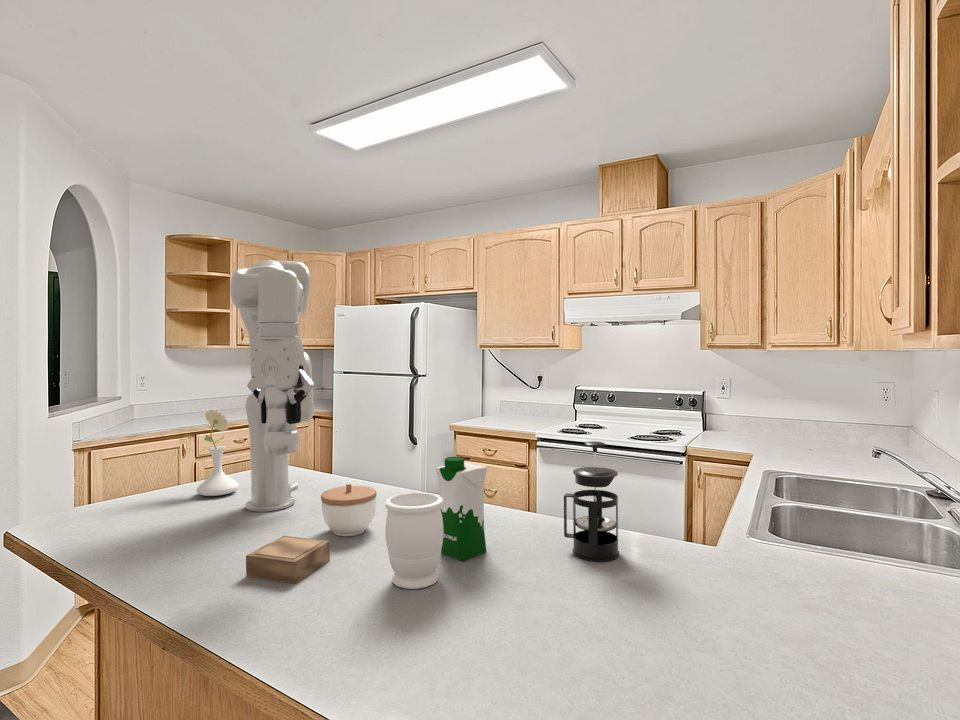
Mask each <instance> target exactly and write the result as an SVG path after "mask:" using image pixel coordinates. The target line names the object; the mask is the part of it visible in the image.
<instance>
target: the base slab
mask: <svg viewBox="0 0 960 720" xmlns="http://www.w3.org/2000/svg"><path fill="white" fill-rule="evenodd" d="M330 542H331V541H330V540H325V539H315V538H306V537H299V536H298V537H297V536H289V535H283V536H280V537H279V538H276V539H275V540H272V541H271V542H269V543H267V544H266V545H263V546H261V547H259V548H258V549H256V550H253V551H252V552H250V553H248V554H245V575H246V577H248V578H255V579H262V580H268V581H277V582H280V583H281V582H282V583H289V584H298V583H299V582H301V580H303V579H304V578H306V577H307V576H309V575H310V574H312V573H314V572H315V571H317V570H319V569H320V568H321V567H322V566H324V565H326V564H327V563H328V562H331V553H330V551H331V549H330V547H331V546H330V544H331V543H330Z"/></svg>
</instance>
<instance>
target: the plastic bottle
mask: <svg viewBox="0 0 960 720" xmlns="http://www.w3.org/2000/svg"><path fill="white" fill-rule="evenodd" d="M264 386H265V388H264V390H263V391H264V396H265V403H266V432H265V435H264V447H265V450H266V451H267V453H269V454H275V455H286V454H288V455H289V454H291V453H295V452H297V450H298V448H299V446H300V445H299V444H300V436H299V432H298V429H297V423H295V424H289V423H288V404H291V403H290V400H289V397H288V394H287V389H284V390H280V389H278V388H276V386H277V381H276V380H275V378H274V376H273V377H272V375H269V376H267V377H266V378H265V380H264ZM293 387H296V386H293ZM294 393H295V391H294Z"/></svg>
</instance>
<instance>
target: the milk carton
mask: <svg viewBox="0 0 960 720" xmlns="http://www.w3.org/2000/svg"><path fill="white" fill-rule="evenodd" d="M487 469H488V466H487V465H481V464H475V463H470V462H465V458H464V457H462V456H449V457H445V458H444V465H441V466H437V467H435V471H436V477H437V480H438V486H439V496H441V497H442V498H443V504H442V506H441V507H440V510H441V514H442V519H443V530H444V532H443V544H442V549H441V555H444V556H448V557H449V558H451V559H455V560H458V561H461V562H464V561H467V560H470V559H472V558H474V557H476V556H479V555H481V554H483V553H486V552H487V543H486V534H485V513H484V512H485V509H484V508H485V507H484V506H485V505H484V504H485V503H484V502H485V500H484V494H485V493H484V492H485V491H484V487H485V481H486V475H487Z"/></svg>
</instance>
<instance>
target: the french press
mask: <svg viewBox="0 0 960 720" xmlns="http://www.w3.org/2000/svg"><path fill="white" fill-rule="evenodd" d="M584 445H585V446H587V447H592V452H593V465H594V466H588V467H587V466H586V467H579V468H575V469H574V470H573V471H572V473H573V475H574V477H575V478H574V479H575V480H574V482H575V484H577V485H579V486H583V487H587V488H588V487H589V488H594V489H584V490H581V489H580V490H578V491H575V492H573V493H569V492H568V493H565V494H564V495H563V536H564V538H567V539H570V538H571V539H573V548H572V554H573V555H574V556H575V557H576V558H578V559H579V560H583V561H587V562H592V563H593V562H594V563H607V562H611V561H615V560H616V559H618V558H619V556H620V551H619V510H618V509H619V502H618V501H619V496H618V495H617V494H616V493H614V492H611V491H608V490H604V489H603V490H601V489H597V488H606V487H608V486H610V484H612V482H613V480H614V479H615V477H617V476H618V475H619V474H618V471H616V470H615V469H611V468H607V467H599V466H598V467H597V452H598V447H604V446H606V443H605V442H601V441H595V440H594V441H593V440H591V441H586V442H585V443H584ZM582 497H593V500H592V501H591V500H585V499H581V498H582ZM603 497H604V498H606V499H607V498H608V499H611V500H606V501H603ZM568 498H572V499H573V500H572V503H573V505H572V506H573V509H572V510H573V512H572V513H573V514H572V515H573V519H572V520H573V521H572V522H573V523H572V524H573V533H569V532H568V519H567V518H568V513H567V511H568V510H567V509H568V505H567V503H568V502H567V501H568V500H567V499H568ZM576 506H580V507H583V508H588V515H586V516H579V517H578V518H577V517H576V516H577V514H576ZM613 507H615V513H616V514H615V517H616V518H615V520H614V519H612V518H610V517H605V516H603V509H609V508H613ZM577 528H578V529H581V530H579V531H577ZM613 530H615V531H616V533H615V534H614V533H612V532H610V531H613ZM576 531H577V532H576Z"/></svg>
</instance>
